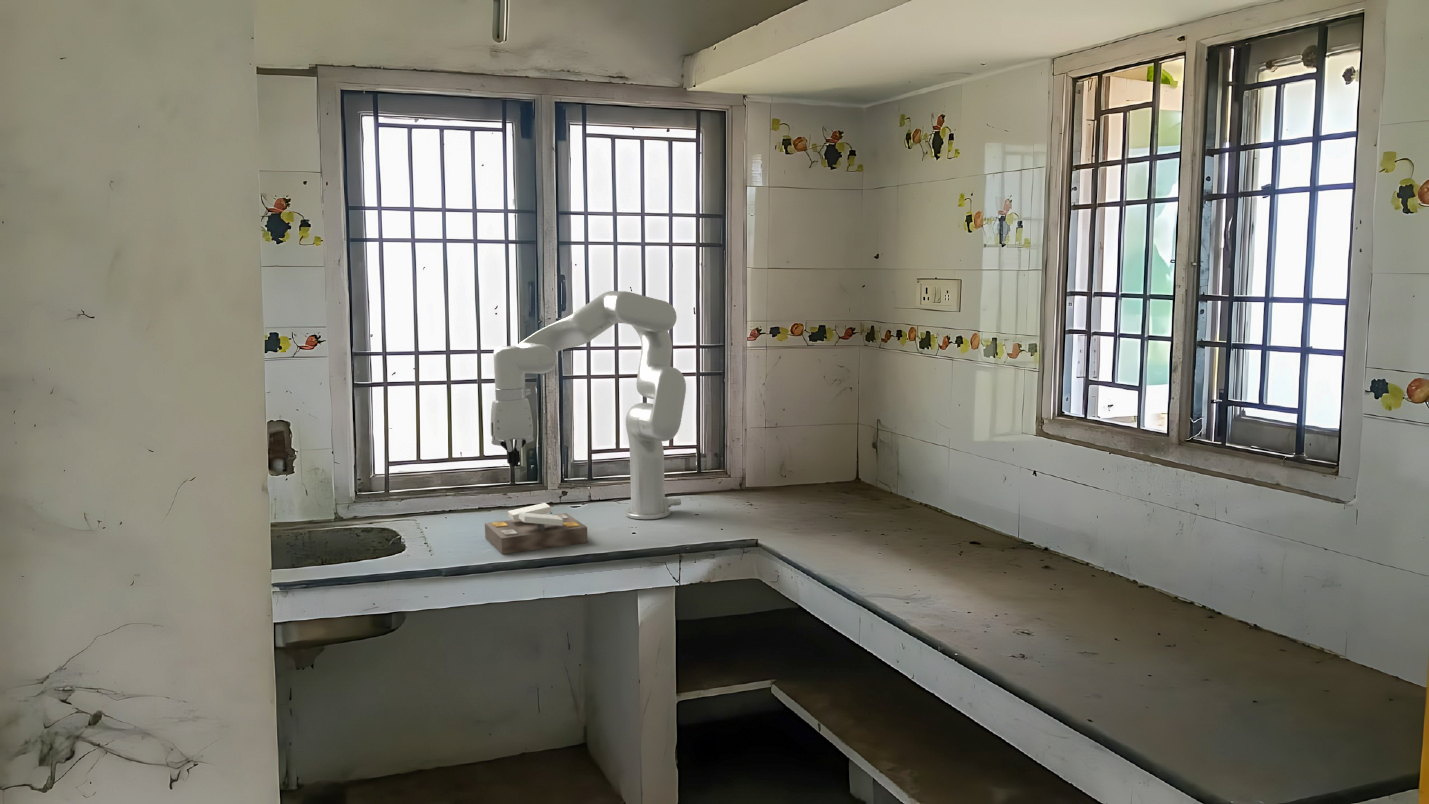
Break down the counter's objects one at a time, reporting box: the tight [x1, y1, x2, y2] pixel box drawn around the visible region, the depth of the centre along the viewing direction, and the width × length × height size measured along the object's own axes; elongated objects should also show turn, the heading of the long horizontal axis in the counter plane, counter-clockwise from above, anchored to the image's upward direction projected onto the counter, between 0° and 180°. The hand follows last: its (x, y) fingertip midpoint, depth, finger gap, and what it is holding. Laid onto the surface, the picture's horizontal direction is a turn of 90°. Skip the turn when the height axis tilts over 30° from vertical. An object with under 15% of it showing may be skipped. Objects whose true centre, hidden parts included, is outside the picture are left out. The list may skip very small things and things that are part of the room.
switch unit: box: [484, 512, 589, 555], centre depth 266 cm, size 22×17×6 cm
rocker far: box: [507, 502, 552, 521], centre depth 270 cm, size 10×5×2 cm, turn 116°
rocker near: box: [519, 512, 563, 526], centre depth 262 cm, size 10×5×2 cm, turn 116°
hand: (513, 465), depth 266 cm, fingers closed
